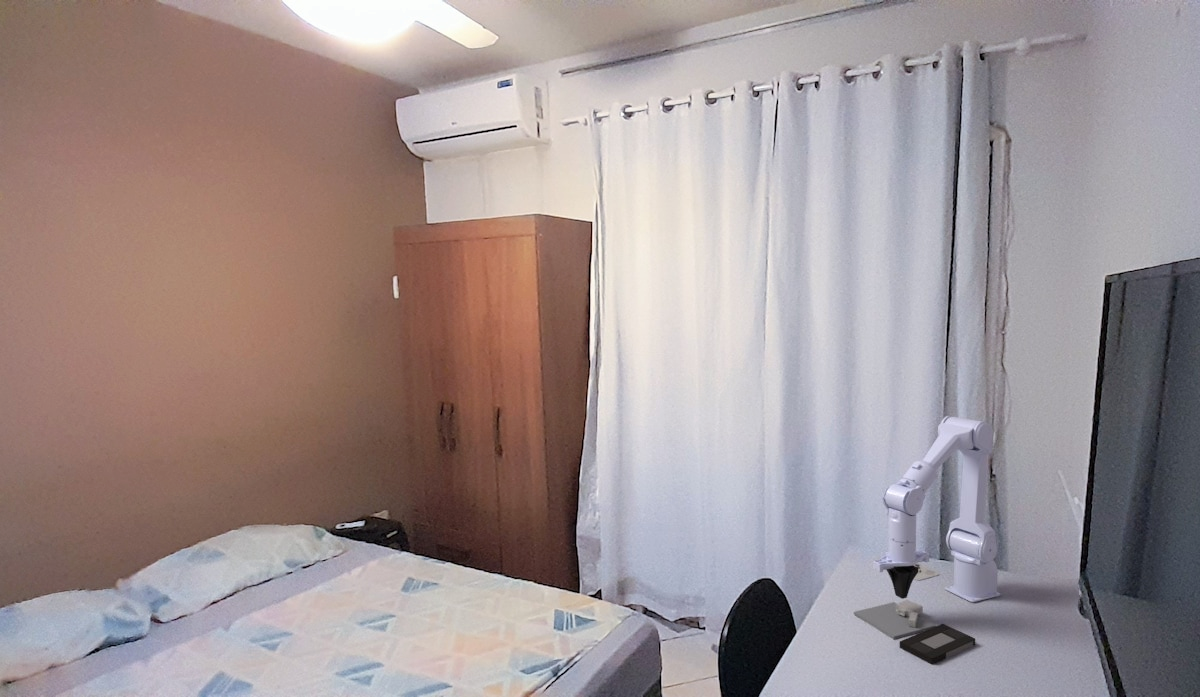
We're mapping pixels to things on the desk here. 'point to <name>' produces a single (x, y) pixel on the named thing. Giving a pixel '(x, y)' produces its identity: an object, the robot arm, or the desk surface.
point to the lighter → (909, 611)
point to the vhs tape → (937, 643)
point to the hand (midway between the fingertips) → (901, 596)
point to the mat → (892, 621)
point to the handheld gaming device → (923, 572)
